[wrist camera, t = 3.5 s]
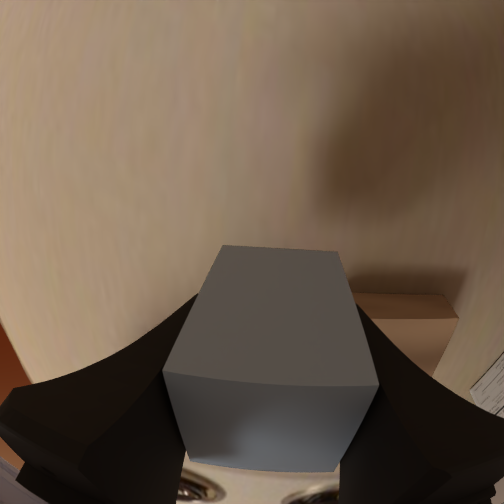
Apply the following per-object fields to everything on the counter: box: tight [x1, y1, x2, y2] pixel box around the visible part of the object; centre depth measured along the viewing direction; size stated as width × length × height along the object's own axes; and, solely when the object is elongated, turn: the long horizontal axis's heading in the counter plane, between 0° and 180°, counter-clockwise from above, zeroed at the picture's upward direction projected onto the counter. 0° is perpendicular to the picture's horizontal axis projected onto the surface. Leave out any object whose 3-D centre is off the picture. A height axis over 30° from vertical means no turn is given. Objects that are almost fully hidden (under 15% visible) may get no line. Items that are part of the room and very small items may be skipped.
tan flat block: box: [352, 293, 459, 376], centre depth 18 cm, size 8×8×3 cm
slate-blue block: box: [162, 245, 379, 472], centre depth 8 cm, size 4×4×6 cm
